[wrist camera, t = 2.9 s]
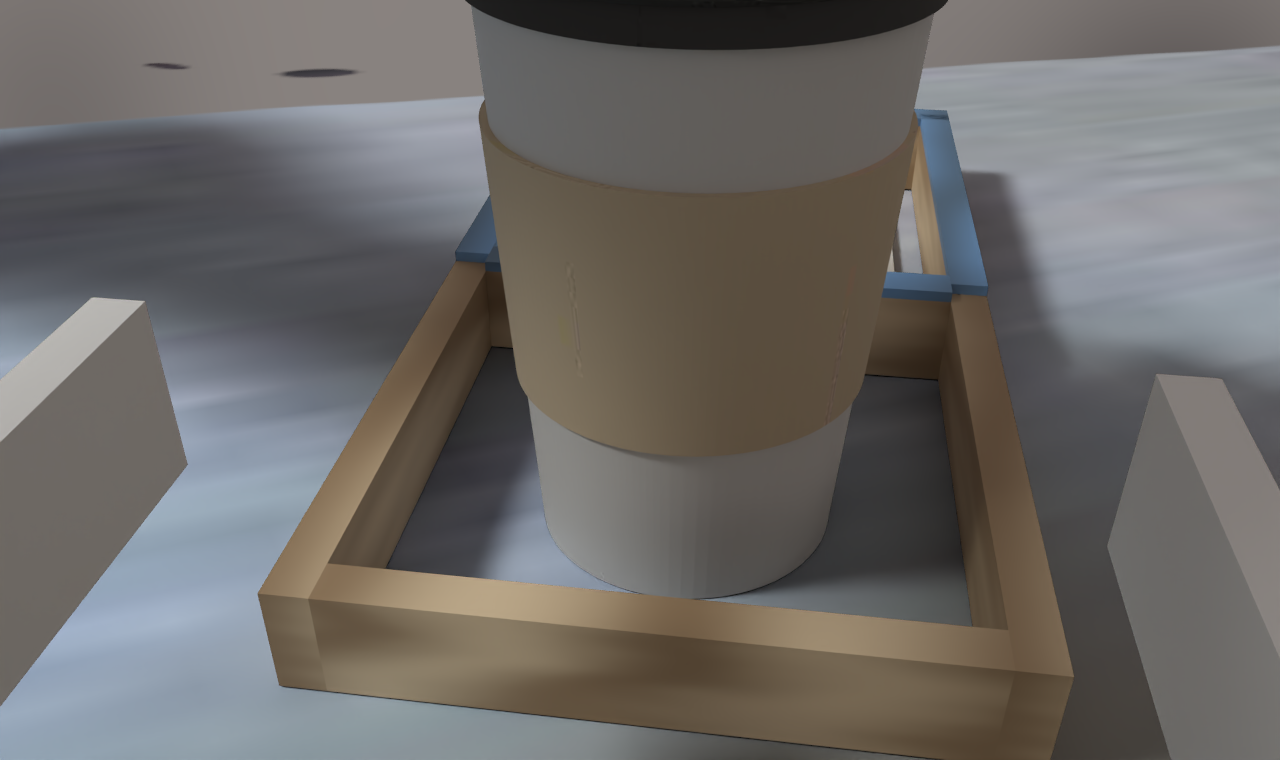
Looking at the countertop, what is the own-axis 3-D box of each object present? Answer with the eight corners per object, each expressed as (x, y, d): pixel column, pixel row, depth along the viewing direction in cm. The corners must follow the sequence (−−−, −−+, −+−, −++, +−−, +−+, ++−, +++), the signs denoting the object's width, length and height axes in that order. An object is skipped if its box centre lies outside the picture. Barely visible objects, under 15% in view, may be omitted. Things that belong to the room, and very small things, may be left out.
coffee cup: (491, 415, 32) (440, -200, 23) (813, 386, 33) (872, -207, 25) (512, 659, 24) (450, -118, 16) (930, 611, 25) (1069, -135, 17)
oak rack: (279, 685, 23) (254, 581, 22) (555, 159, 47) (552, 91, 45) (1046, 771, 22) (1077, 665, 20) (936, 180, 45) (947, 110, 44)
